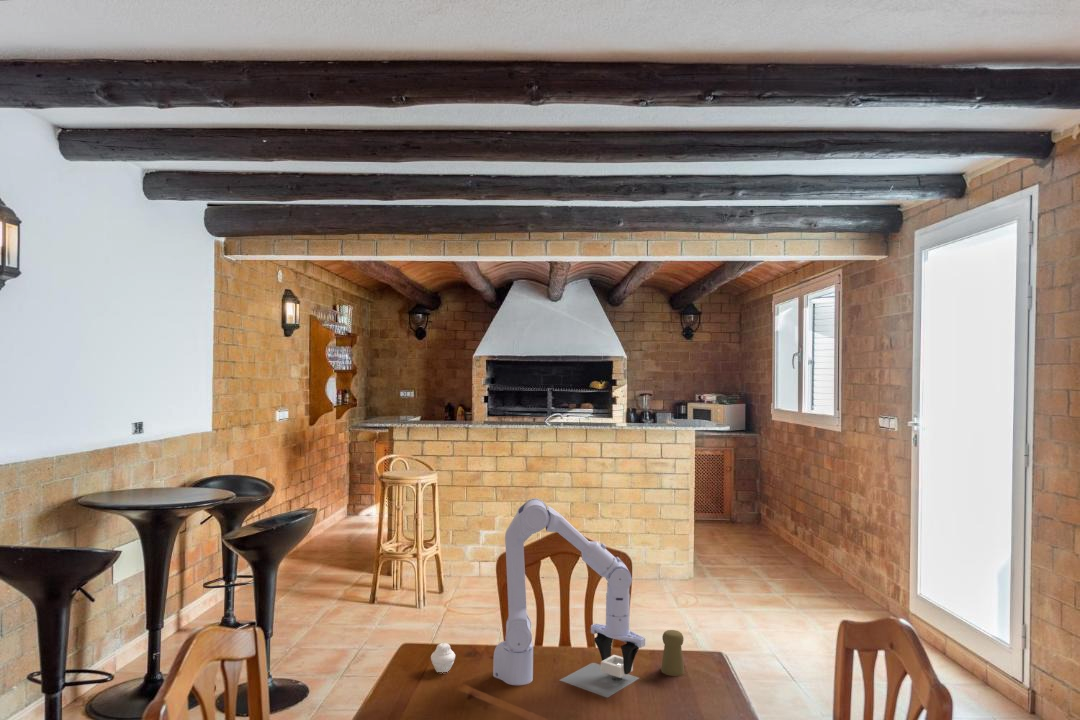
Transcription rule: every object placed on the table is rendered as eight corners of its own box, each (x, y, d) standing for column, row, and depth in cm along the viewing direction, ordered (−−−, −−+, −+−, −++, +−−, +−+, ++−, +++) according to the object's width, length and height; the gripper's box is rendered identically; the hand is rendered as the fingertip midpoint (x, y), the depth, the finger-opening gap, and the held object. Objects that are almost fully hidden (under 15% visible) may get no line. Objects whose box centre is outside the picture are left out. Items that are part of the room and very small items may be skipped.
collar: (600, 671, 171) (600, 661, 171) (613, 664, 175) (613, 654, 175) (620, 677, 168) (620, 667, 168) (632, 670, 172) (633, 660, 172)
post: (609, 678, 171) (609, 663, 171) (615, 675, 173) (615, 660, 173) (618, 681, 170) (618, 666, 170) (624, 678, 172) (624, 663, 172)
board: (559, 685, 170) (559, 680, 170) (592, 667, 181) (592, 662, 181) (607, 702, 161) (607, 697, 161) (639, 682, 172) (639, 677, 172)
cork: (684, 682, 173) (685, 636, 173) (659, 679, 174) (660, 634, 174) (684, 672, 179) (685, 628, 179) (660, 669, 180) (661, 626, 180)
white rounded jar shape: (449, 664, 182) (449, 636, 182) (459, 673, 176) (459, 644, 176) (426, 668, 178) (427, 641, 179) (435, 678, 173) (436, 649, 173)
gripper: (652, 615, 170) (651, 672, 170) (602, 602, 179) (601, 656, 179) (636, 623, 165) (635, 682, 164) (586, 609, 174) (585, 665, 174)
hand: (617, 669), depth 171 cm, fingers closed on collar, 5 cm apart
